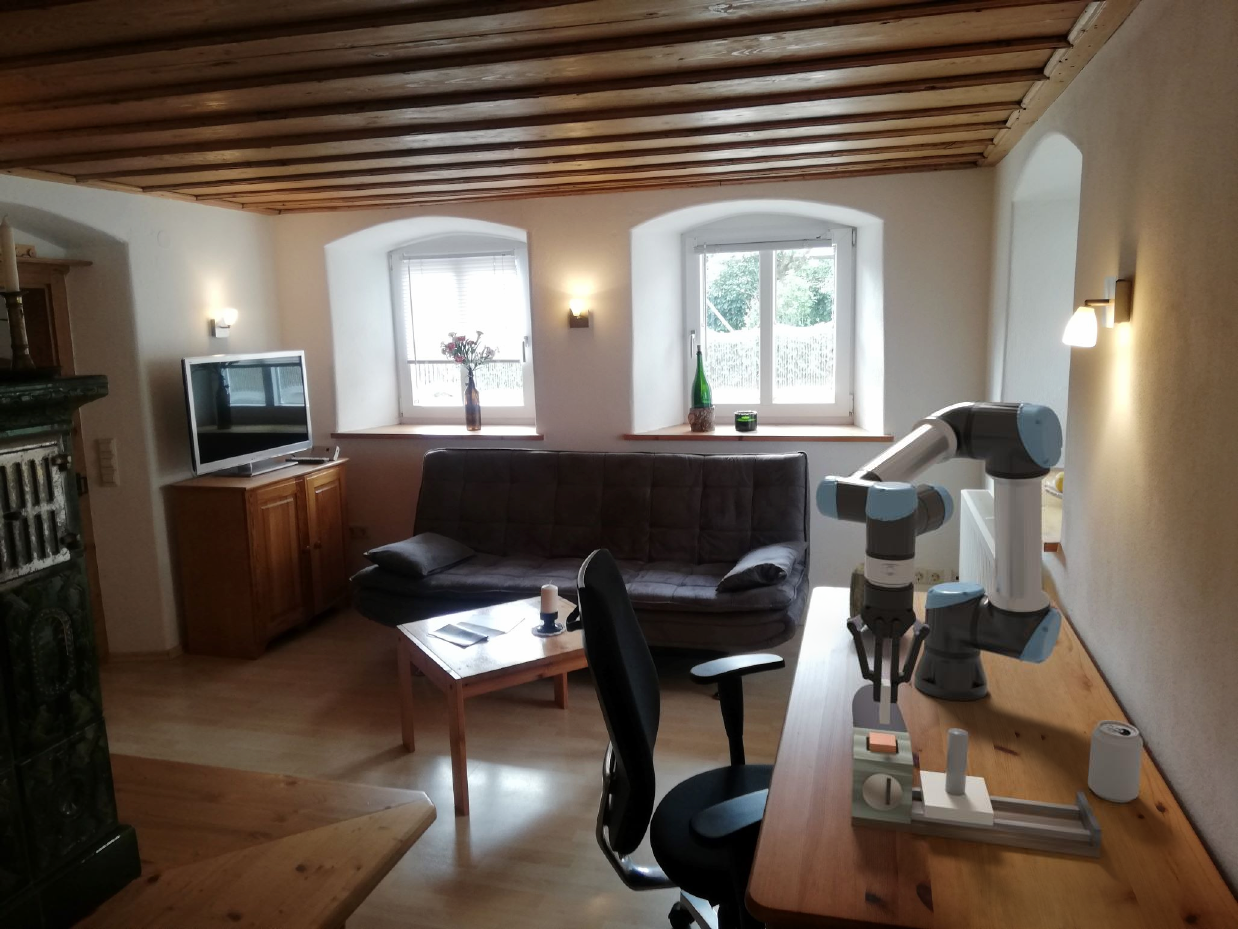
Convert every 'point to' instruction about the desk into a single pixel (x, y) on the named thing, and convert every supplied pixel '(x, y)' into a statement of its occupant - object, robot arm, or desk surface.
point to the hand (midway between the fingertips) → (884, 720)
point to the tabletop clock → (857, 591)
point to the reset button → (882, 743)
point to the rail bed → (1021, 823)
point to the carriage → (956, 787)
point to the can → (1115, 761)
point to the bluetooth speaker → (874, 712)
